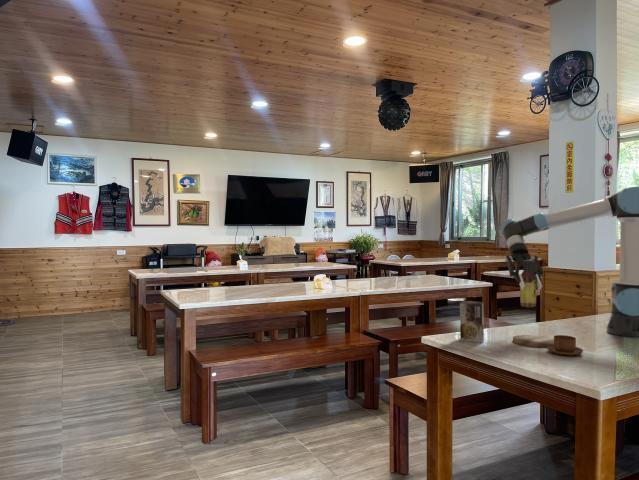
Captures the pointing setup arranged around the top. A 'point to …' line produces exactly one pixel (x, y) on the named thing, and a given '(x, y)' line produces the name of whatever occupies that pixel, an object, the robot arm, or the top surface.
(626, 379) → the top surface
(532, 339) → the coaster pad
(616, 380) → the top surface
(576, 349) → the cup and saucer
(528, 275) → the sauce bottle
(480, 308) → the coffee box
